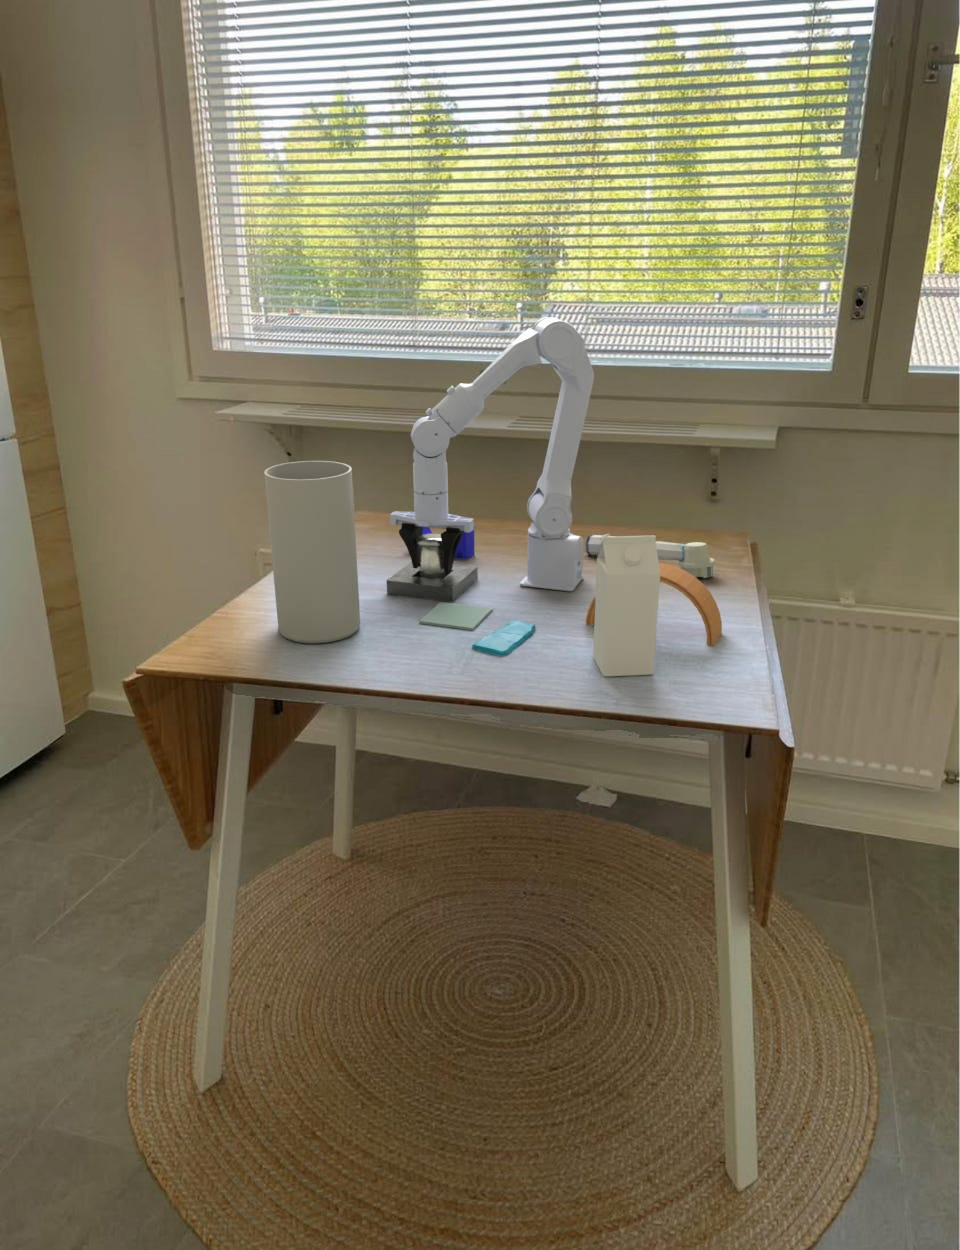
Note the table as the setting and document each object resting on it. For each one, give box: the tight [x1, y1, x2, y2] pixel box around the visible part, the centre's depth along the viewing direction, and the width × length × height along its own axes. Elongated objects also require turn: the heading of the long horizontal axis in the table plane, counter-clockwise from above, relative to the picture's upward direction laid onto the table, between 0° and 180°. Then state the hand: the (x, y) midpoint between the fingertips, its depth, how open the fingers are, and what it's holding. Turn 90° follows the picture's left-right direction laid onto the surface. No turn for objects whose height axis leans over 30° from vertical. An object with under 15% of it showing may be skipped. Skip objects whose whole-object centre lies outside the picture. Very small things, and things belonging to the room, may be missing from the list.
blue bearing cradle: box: [422, 527, 475, 561], centre depth 184 cm, size 12×4×6 cm, turn 59°
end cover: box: [416, 533, 446, 580], centre depth 165 cm, size 5×5×9 cm
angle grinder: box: [585, 533, 716, 579], centre depth 177 cm, size 5×7×25 cm
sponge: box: [471, 619, 536, 657], centre depth 145 cm, size 2×12×6 cm
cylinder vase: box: [263, 460, 361, 645], centre depth 144 cm, size 12×12×25 cm
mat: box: [419, 601, 493, 631], centre depth 154 cm, size 9×9×1 cm
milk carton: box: [592, 535, 661, 677], centre depth 132 cm, size 7×7×19 cm
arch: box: [585, 562, 723, 647], centre depth 147 cm, size 6×20×10 cm, turn 63°
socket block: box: [385, 561, 479, 603], centre depth 167 cm, size 12×12×2 cm
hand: (432, 568), depth 166 cm, fingers closed on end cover, 5 cm apart
